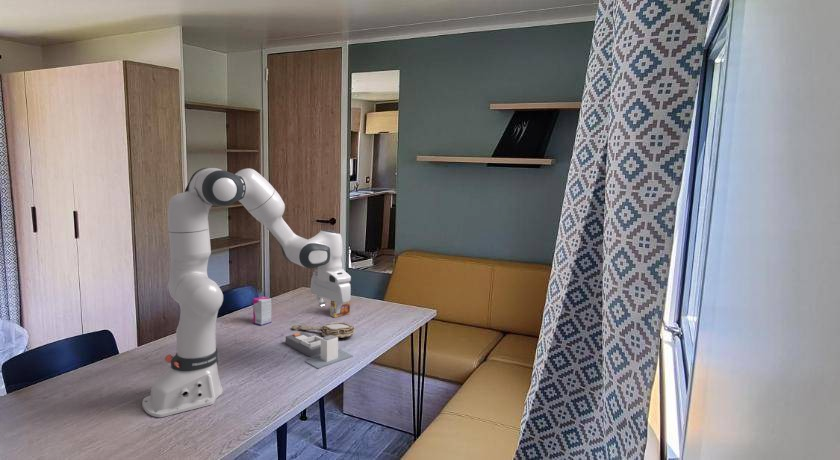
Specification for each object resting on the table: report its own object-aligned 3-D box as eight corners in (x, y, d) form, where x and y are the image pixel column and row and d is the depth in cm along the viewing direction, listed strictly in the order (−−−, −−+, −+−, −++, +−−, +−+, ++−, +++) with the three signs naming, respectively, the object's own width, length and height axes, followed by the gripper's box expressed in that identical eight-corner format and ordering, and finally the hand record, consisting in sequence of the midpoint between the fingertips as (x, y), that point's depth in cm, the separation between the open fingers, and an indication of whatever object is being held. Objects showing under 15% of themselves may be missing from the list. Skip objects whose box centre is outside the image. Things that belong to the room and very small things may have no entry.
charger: (327, 361, 178) (327, 340, 177) (320, 358, 181) (320, 337, 180) (337, 358, 182) (338, 337, 181) (331, 354, 184) (331, 334, 183)
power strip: (311, 357, 183) (311, 346, 182) (285, 343, 195) (285, 333, 194) (328, 351, 188) (328, 340, 188) (302, 338, 201) (302, 328, 200)
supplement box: (271, 322, 218) (271, 298, 217) (261, 326, 213) (260, 301, 212) (263, 319, 221) (263, 295, 220) (252, 323, 216) (252, 298, 215)
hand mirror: (299, 319, 217) (359, 322, 207) (299, 332, 216) (359, 336, 207) (285, 321, 207) (347, 325, 197) (284, 335, 206) (347, 339, 197)
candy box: (335, 318, 227) (335, 286, 225) (329, 315, 230) (330, 284, 228) (350, 314, 233) (350, 283, 231) (345, 312, 236) (345, 281, 234)
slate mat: (317, 368, 173) (317, 367, 173) (305, 361, 178) (305, 360, 178) (352, 356, 184) (352, 355, 184) (339, 350, 190) (339, 349, 190)
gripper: (306, 269, 181) (306, 304, 183) (339, 280, 167) (338, 318, 169) (320, 267, 186) (320, 301, 188) (354, 277, 172) (353, 314, 174)
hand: (329, 309), depth 178 cm, fingers open, 8 cm apart
